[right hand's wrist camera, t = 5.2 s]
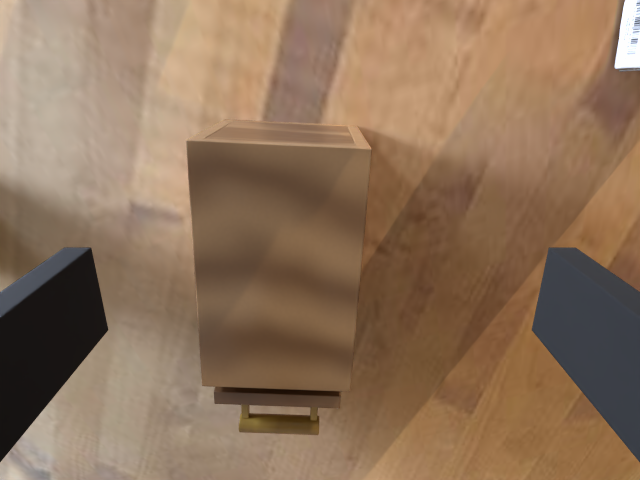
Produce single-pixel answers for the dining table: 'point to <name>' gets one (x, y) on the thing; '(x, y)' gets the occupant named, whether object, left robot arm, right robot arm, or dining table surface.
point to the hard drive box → (629, 38)
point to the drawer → (278, 398)
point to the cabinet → (278, 251)
